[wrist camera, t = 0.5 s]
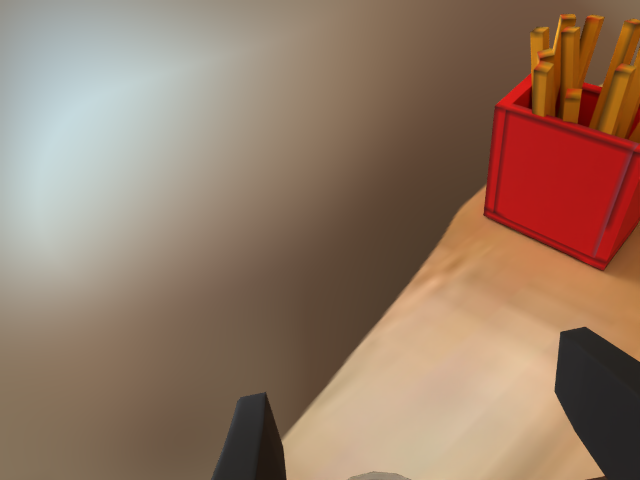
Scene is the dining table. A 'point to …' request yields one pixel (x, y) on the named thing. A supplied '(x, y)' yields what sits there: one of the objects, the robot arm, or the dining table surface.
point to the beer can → (379, 476)
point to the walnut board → (599, 478)
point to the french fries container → (570, 145)
